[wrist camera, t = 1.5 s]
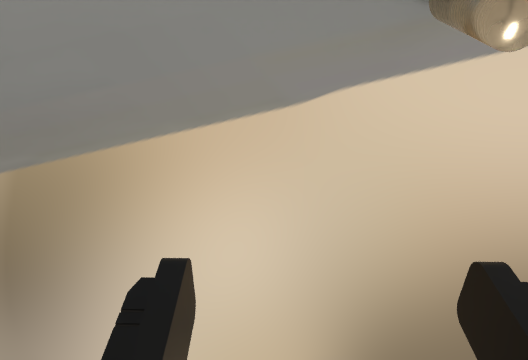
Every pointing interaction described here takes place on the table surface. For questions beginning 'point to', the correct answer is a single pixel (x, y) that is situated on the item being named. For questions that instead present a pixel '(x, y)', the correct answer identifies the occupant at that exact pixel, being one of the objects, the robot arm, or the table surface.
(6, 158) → the table surface
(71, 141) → the table surface
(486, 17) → the crank handle
